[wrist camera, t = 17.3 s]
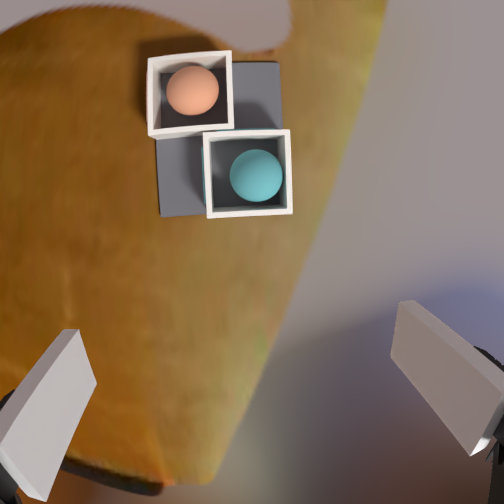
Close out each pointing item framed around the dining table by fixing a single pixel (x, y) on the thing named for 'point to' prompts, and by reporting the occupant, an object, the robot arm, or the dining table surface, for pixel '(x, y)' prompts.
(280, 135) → the white square bin
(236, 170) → the ball teal
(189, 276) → the dining table surface
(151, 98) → the white square box
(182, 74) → the ball terracotta
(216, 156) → the mat
